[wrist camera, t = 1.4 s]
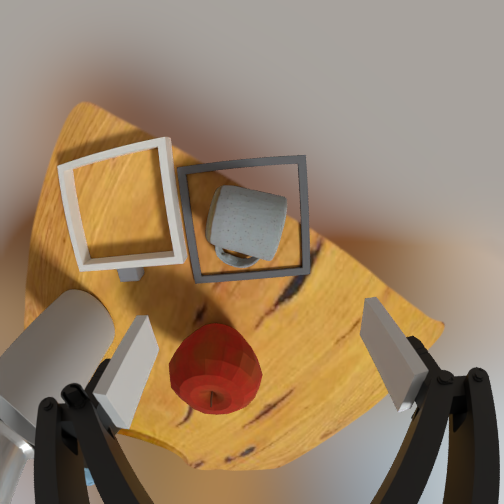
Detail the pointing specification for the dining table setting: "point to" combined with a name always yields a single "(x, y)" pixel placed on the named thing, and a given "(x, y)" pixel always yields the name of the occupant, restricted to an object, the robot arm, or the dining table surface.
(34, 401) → the cylinder vase
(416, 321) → the dining table surface
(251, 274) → the tray outline
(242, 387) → the apple
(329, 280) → the dining table surface
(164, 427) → the dining table surface
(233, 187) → the ceramic mug
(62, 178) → the socket
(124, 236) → the dining table surface
